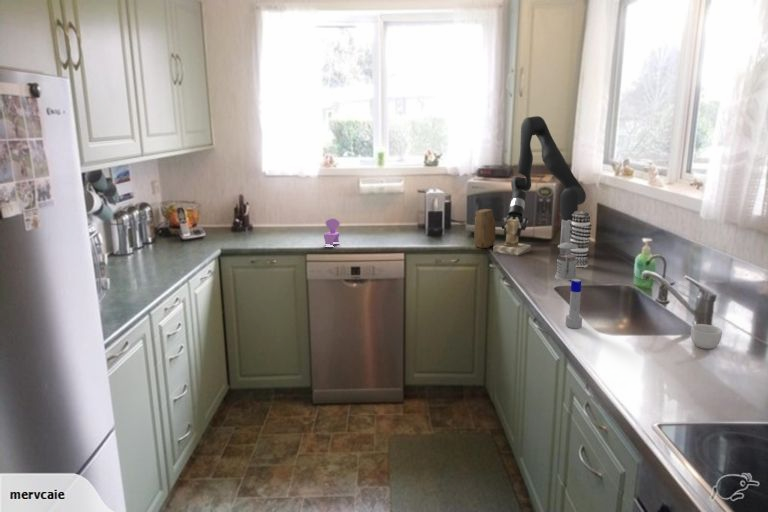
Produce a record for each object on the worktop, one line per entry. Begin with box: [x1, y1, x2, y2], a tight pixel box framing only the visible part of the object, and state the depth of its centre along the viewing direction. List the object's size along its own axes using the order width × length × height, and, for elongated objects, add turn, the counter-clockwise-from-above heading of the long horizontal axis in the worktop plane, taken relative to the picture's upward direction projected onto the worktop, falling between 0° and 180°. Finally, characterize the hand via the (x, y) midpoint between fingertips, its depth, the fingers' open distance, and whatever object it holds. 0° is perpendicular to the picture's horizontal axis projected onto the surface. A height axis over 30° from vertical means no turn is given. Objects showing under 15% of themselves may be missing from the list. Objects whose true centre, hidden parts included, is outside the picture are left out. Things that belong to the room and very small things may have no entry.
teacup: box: [690, 323, 723, 350], centre depth 158 cm, size 10×8×5 cm
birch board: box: [492, 241, 532, 257], centre depth 277 cm, size 14×13×3 cm
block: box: [473, 208, 496, 249], centre depth 287 cm, size 11×8×20 cm
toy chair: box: [323, 218, 341, 246], centre depth 298 cm, size 8×9×15 cm
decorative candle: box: [569, 210, 592, 268], centre depth 245 cm, size 9×9×25 cm
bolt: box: [565, 278, 583, 329], centre depth 174 cm, size 16×5×5 cm
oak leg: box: [505, 219, 519, 247], centre depth 276 cm, size 5×5×15 cm
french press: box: [554, 220, 578, 281], centre depth 226 cm, size 10×12×25 cm
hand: (511, 235), depth 274 cm, fingers closed on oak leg, 5 cm apart
